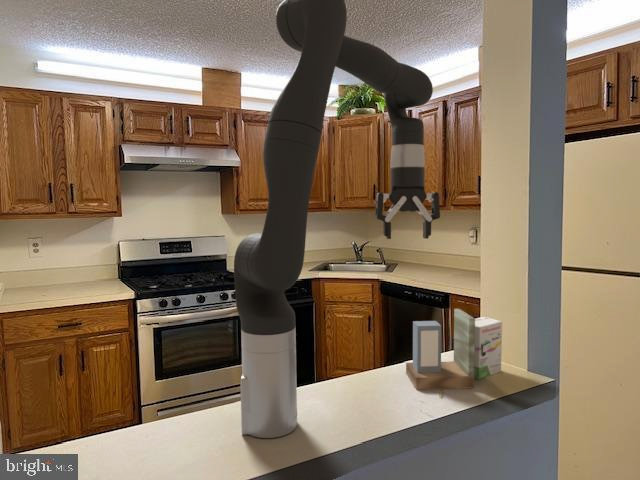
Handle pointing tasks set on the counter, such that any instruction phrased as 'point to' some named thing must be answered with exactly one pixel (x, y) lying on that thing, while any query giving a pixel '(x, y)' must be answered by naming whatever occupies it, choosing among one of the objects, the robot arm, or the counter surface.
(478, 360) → the ink box
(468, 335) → the bookend
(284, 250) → the robot arm
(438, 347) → the grey block
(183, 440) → the counter surface
